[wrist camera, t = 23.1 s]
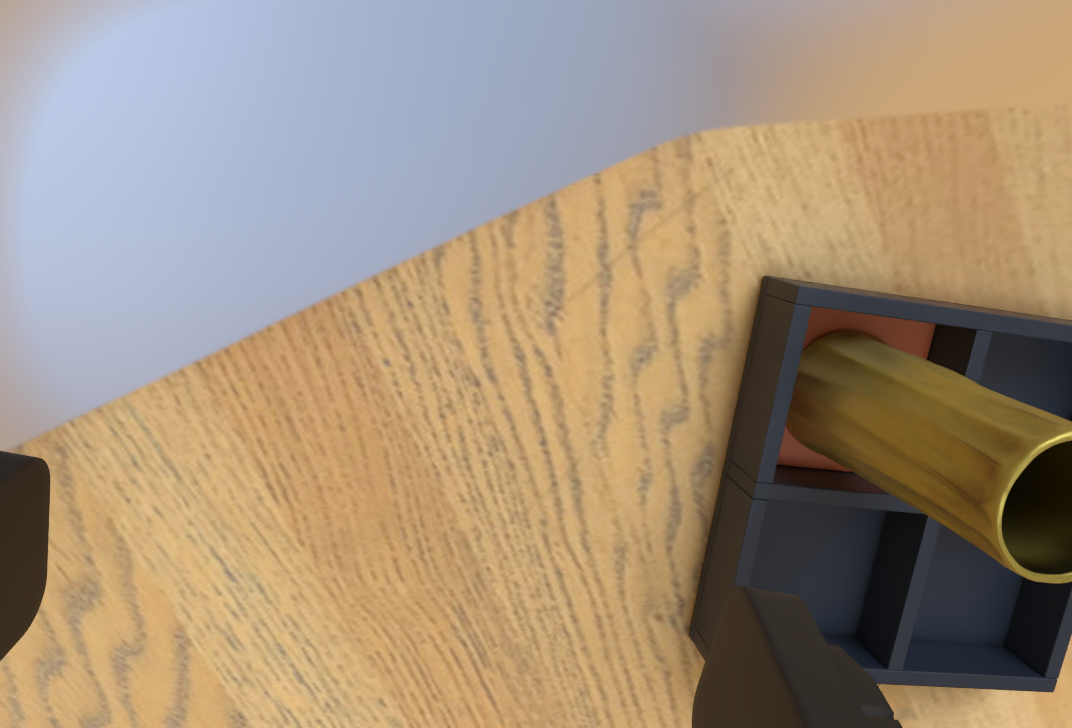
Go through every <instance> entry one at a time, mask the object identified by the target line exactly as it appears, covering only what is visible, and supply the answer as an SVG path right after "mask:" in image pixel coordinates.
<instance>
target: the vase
mask: <svg viewBox="0 0 1072 728" xmlns="http://www.w3.org/2000/svg"><path fill="white" fill-rule="evenodd" d="M786 424H787V426H788V428H789V430H790V432H791V433H792V435H793V436H794V437H795V438H796V439H797V441H798V442H799V443H801V444H802V445H803V446H805V447H806V448H808V449H810V450H811V451H813V452H815V453H817V454H820V455H823V456H826V457H828V458H829V459H831V460H833V461H835V462H836V463H838V464H840V465H842V466H844V467H846V468H847V469H849V470H851V471H853V472H854V473H856V474H858V475H859V476H861V477H863V478H864V479H866V480H868V481H869V482H871V483H872V484H874V485H876V486H877V487H879V488H881V489H882V490H884V491H886V492H887V493H889V494H891V495H893V496H894V497H896V498H898V499H899V500H901V501H903V502H905V503H906V504H908V505H910V506H912V507H914V508H915V509H917V510H919V511H920V512H922V513H924V514H925V515H927V516H929V517H930V518H932V519H933V520H935V521H937V522H938V523H940V524H942V525H944V526H945V527H947V528H949V529H950V530H952V531H953V532H955V533H956V534H958V535H959V536H961V537H963V538H964V539H966V540H967V541H969V542H970V543H972V544H973V545H975V546H976V547H978V548H979V549H980V550H982V551H983V552H985V553H986V554H988V555H989V556H991V557H992V558H993V559H995V560H996V561H998V562H999V563H1000V564H1002V565H1003V566H1005V567H1006V568H1008V569H1010V570H1012V571H1013V572H1015V573H1017V574H1019V575H1021V576H1023V577H1025V578H1027V579H1029V580H1032V581H1036V582H1044V583H1067V582H1071V581H1072V422H1071V421H1069V420H1066V419H1064V418H1061V417H1059V416H1056V415H1054V414H1051V413H1049V412H1046V411H1043V410H1041V409H1038V408H1036V407H1033V406H1030V405H1028V404H1025V403H1022V402H1019V401H1017V400H1014V399H1012V398H1009V397H1007V396H1004V395H1002V394H999V393H997V392H994V391H992V390H990V389H987V388H985V387H983V386H981V385H979V384H977V383H975V382H974V381H972V380H970V379H968V378H966V377H965V376H962V375H960V374H958V373H956V372H954V371H952V370H949V369H947V368H944V367H942V366H939V365H937V364H934V363H932V362H930V361H928V360H925V359H923V358H921V357H918V356H916V355H913V354H910V353H907V352H904V351H902V350H899V349H896V348H893V347H891V346H890V345H889V344H887V343H886V342H885V341H883V340H881V339H879V338H877V337H875V336H873V335H870V334H868V333H864V332H859V331H852V330H850V331H841V332H835V333H832V334H829V335H826V336H824V337H822V338H820V339H817V340H816V341H814V342H813V343H811V344H810V345H809V346H808V347H807V348H806V349H805V350H804V351H803V352H802V353H801V358H800V362H799V367H798V371H797V376H796V380H795V385H794V389H793V394H792V398H791V403H790V407H789V412H788V416H787V421H786Z"/></svg>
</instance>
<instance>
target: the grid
mask: <svg viewBox="0 0 1072 728" xmlns="http://www.w3.org/2000/svg"><path fill="white" fill-rule="evenodd" d="M850 330H852V331H859V332H864V333H868V334H870V335H873V336H875V337H877V338H879V339H881V340H883V341H885V342H886V343H887V344H889V345H890V346H891V347H893V348H896V349H899V350H902V351H904V352H907V353H910V354H913V355H916V356H918V357H921V358H923V359H925V360H928V361H930V362H932V363H934V364H937V365H939V366H942V367H944V368H947V369H949V370H952V371H954V372H956V373H958V374H960V375H962V376H965V377H966V378H968V379H970V380H972V381H974V382H975V383H977V384H979V385H981V386H983V387H985V388H987V389H990V390H992V391H994V392H997V393H999V394H1002V395H1004V396H1007V397H1009V398H1012V399H1014V400H1017V401H1019V402H1022V403H1025V404H1028V405H1030V406H1033V407H1036V408H1038V409H1041V410H1043V411H1046V412H1049V413H1051V414H1054V415H1056V416H1059V417H1061V418H1064V419H1066V420H1069V421H1071V422H1072V320H1065V319H1058V318H1051V317H1044V316H1038V315H1031V314H1024V313H1017V312H1010V311H1004V310H997V309H990V308H983V307H976V306H969V305H963V304H956V303H949V302H942V301H935V300H929V299H922V298H915V297H908V296H901V295H895V294H888V293H881V292H874V291H867V290H860V289H854V288H847V287H840V286H833V285H826V284H820V283H813V282H806V281H799V280H792V279H785V278H779V277H772V276H764V278H763V282H762V287H761V292H760V297H759V301H758V306H757V311H756V316H755V321H754V325H753V330H752V335H751V340H750V344H749V349H748V354H747V359H746V364H745V368H744V373H743V378H742V383H741V387H740V392H739V397H738V402H737V407H736V411H735V416H734V421H733V426H732V430H731V435H730V440H729V445H728V450H727V454H726V459H725V464H724V469H723V473H722V478H721V483H720V488H719V492H718V497H717V502H716V507H715V512H714V516H713V521H712V526H711V531H710V535H709V540H708V545H707V550H706V555H705V559H704V564H703V569H702V574H701V578H700V583H699V588H698V593H697V598H696V602H695V607H694V612H693V617H692V621H691V626H690V631H689V637H690V638H691V640H692V641H693V643H694V644H695V646H696V648H697V649H698V651H699V652H700V654H701V655H702V657H703V659H704V660H705V662H706V659H707V656H708V652H709V649H710V646H711V643H712V640H713V637H714V634H715V631H716V628H717V625H718V622H719V619H720V616H721V613H722V610H723V607H724V604H725V601H726V599H727V597H728V595H729V593H730V591H731V590H732V589H733V588H734V587H735V586H737V585H741V586H747V587H753V588H758V589H764V590H769V591H775V592H781V593H786V594H792V595H797V596H799V597H801V598H802V599H803V601H804V602H805V604H806V606H807V608H808V609H809V611H810V613H811V615H812V617H813V619H814V620H815V622H816V624H817V626H818V628H819V630H820V632H821V633H822V635H823V637H824V639H825V641H826V643H827V644H833V645H838V646H840V647H841V648H842V649H843V650H844V651H845V652H846V653H847V654H848V655H850V656H851V657H852V658H853V659H854V660H855V661H856V662H857V663H858V664H859V665H860V666H861V667H862V668H863V669H864V670H865V671H866V672H867V673H868V674H869V675H871V676H872V677H873V678H874V680H875V682H876V684H892V685H913V686H934V687H954V688H975V689H995V690H1016V691H1036V692H1054V689H1055V686H1056V683H1057V678H1058V677H1059V673H1060V670H1061V667H1062V664H1063V661H1064V657H1065V654H1066V651H1067V648H1068V644H1069V641H1070V638H1071V635H1072V581H1071V582H1067V583H1044V582H1036V581H1032V580H1029V579H1027V578H1025V577H1023V576H1021V575H1019V574H1017V573H1015V572H1013V571H1012V570H1010V569H1008V568H1006V567H1005V566H1003V565H1002V564H1000V563H999V562H998V561H996V560H995V559H993V558H992V557H991V556H989V555H988V554H986V553H985V552H983V551H982V550H980V549H979V548H978V547H976V546H975V545H973V544H972V543H970V542H969V541H967V540H966V539H964V538H963V537H961V536H959V535H958V534H956V533H955V532H953V531H952V530H950V529H949V528H947V527H945V526H944V525H942V524H940V523H938V522H937V521H935V520H933V519H932V518H930V517H929V516H927V515H925V514H924V513H922V512H920V511H919V510H917V509H915V508H914V507H912V506H910V505H908V504H906V503H905V502H903V501H901V500H899V499H898V498H896V497H894V496H893V495H891V494H889V493H887V492H886V491H884V490H882V489H881V488H879V487H877V486H876V485H874V484H872V483H871V482H869V481H868V480H866V479H864V478H863V477H861V476H859V475H858V474H856V473H854V472H853V471H851V470H849V469H847V468H846V467H844V466H842V465H840V464H838V463H836V462H835V461H833V460H831V459H829V458H828V457H826V456H823V455H820V454H817V453H815V452H813V451H811V450H810V449H808V448H806V447H805V446H803V445H802V444H801V443H799V442H798V441H797V439H796V438H795V437H794V436H793V435H792V433H791V432H790V430H789V428H788V426H787V424H786V421H787V416H788V412H789V407H790V403H791V398H792V394H793V389H794V385H795V380H796V376H797V371H798V367H799V362H800V358H801V353H802V352H803V351H804V350H805V349H806V348H807V347H808V346H809V345H810V344H811V343H813V342H814V341H816V340H817V339H820V338H822V337H824V336H826V335H829V334H832V333H835V332H841V331H850Z"/></svg>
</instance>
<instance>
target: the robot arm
mask: <svg viewBox="0 0 1072 728" xmlns="http://www.w3.org/2000/svg"><path fill="white" fill-rule="evenodd" d="M49 503H50V472H49V468H48V465H47V464H46V462H45V461H44V460H43V459H41V458H37V457H31V456H26V455H20V454H15V453H9V452H4V451H0V661H1V660H2V659H3V657H4V656H5V655H6V654H7V653H8V652H9V651H10V650H11V649H12V647H13V646H14V645H15V644H16V643H17V642H18V641H19V640H20V638H21V637H22V636H23V635H24V634H25V632H26V631H27V630H28V628H29V627H30V625H31V623H32V622H33V620H34V618H35V616H36V614H37V612H38V609H39V607H40V604H41V601H42V598H43V595H44V591H45V586H46V580H47V559H48V531H49ZM893 715H894V713H893V711H892V709H891V707H890V706H889V704H888V702H887V701H886V699H885V697H884V695H883V694H882V692H881V690H880V689H879V687H878V685H877V684H876V682H875V680H874V678H873V677H872V676H871V675H869V674H868V673H867V672H866V671H865V670H864V669H863V668H862V667H861V666H860V665H859V664H858V663H857V662H856V661H855V660H854V659H853V658H852V657H851V656H850V655H848V654H847V653H846V652H845V651H844V650H843V649H842V648H841V647H840V646H838V645H833V644H827V643H826V641H825V639H824V637H823V635H822V633H821V632H820V630H819V628H818V626H817V624H816V622H815V620H814V619H813V617H812V615H811V613H810V611H809V609H808V608H807V606H806V604H805V602H804V601H803V599H802V598H801V597H799V596H797V595H792V594H786V593H781V592H775V591H769V590H764V589H758V588H753V587H747V586H741V585H737V586H735V587H734V588H733V589H732V590H731V591H730V593H729V595H728V597H727V599H726V601H725V604H724V607H723V610H722V613H721V616H720V619H719V622H718V625H717V628H716V631H715V634H714V637H713V640H712V643H711V646H710V649H709V652H708V656H707V659H706V662H705V665H704V668H703V671H702V674H701V677H700V680H699V683H698V686H697V689H696V693H695V697H694V703H693V712H692V728H902V726H901V724H900V723H899V721H898V720H894V718H893Z"/></svg>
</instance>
